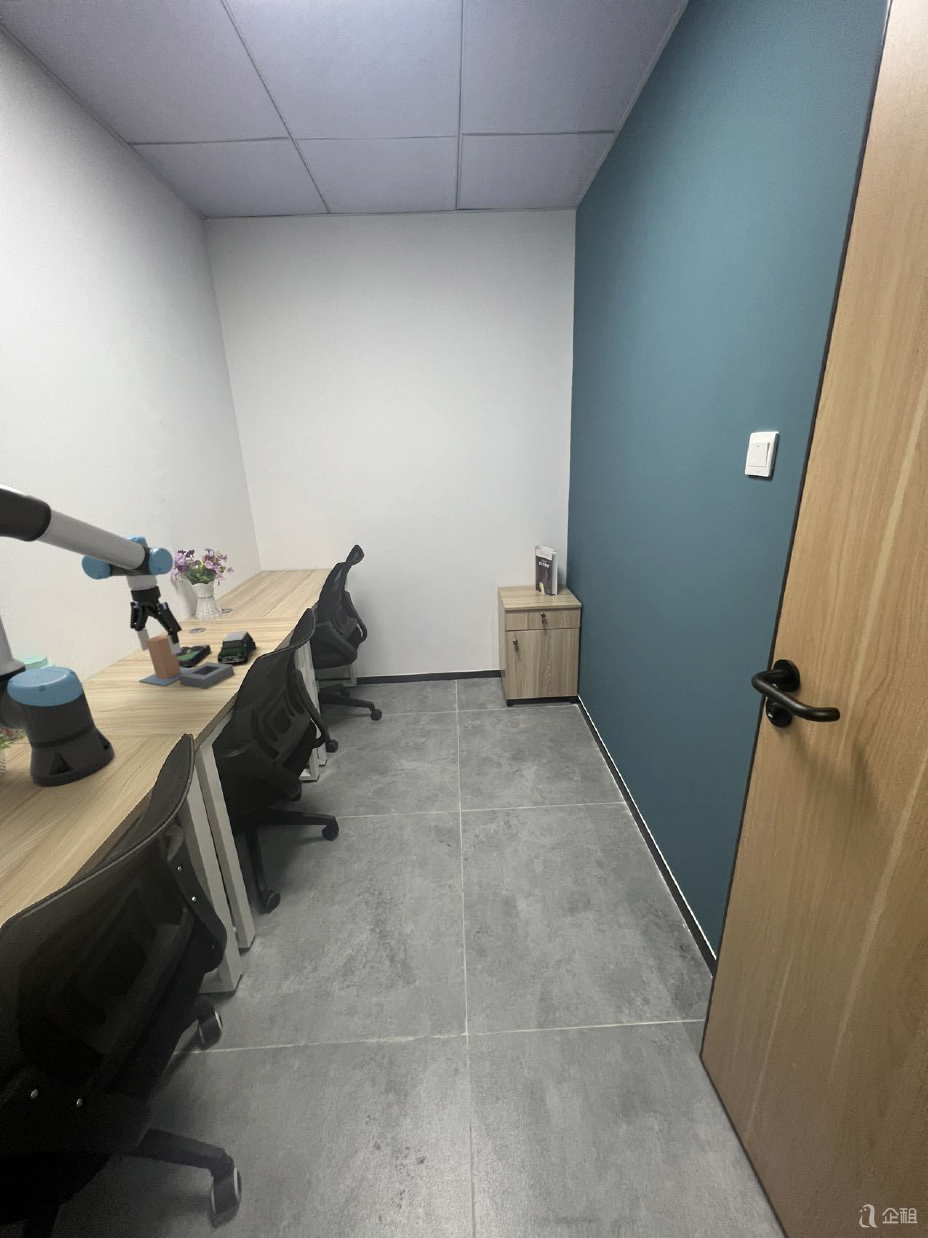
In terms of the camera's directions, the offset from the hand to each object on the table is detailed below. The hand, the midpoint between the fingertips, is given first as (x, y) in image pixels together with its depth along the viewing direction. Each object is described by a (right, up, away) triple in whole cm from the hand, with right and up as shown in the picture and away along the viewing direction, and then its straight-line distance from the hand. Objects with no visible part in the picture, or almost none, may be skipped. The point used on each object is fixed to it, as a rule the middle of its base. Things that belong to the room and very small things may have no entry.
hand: (161, 651), depth 156 cm
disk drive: (-1, -4, +16) cm, 16 cm away
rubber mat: (+1, -9, +3) cm, 9 cm away
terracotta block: (+1, -8, +3) cm, 9 cm away
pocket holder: (+15, -9, -1) cm, 18 cm away
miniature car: (+17, -3, +16) cm, 24 cm away
